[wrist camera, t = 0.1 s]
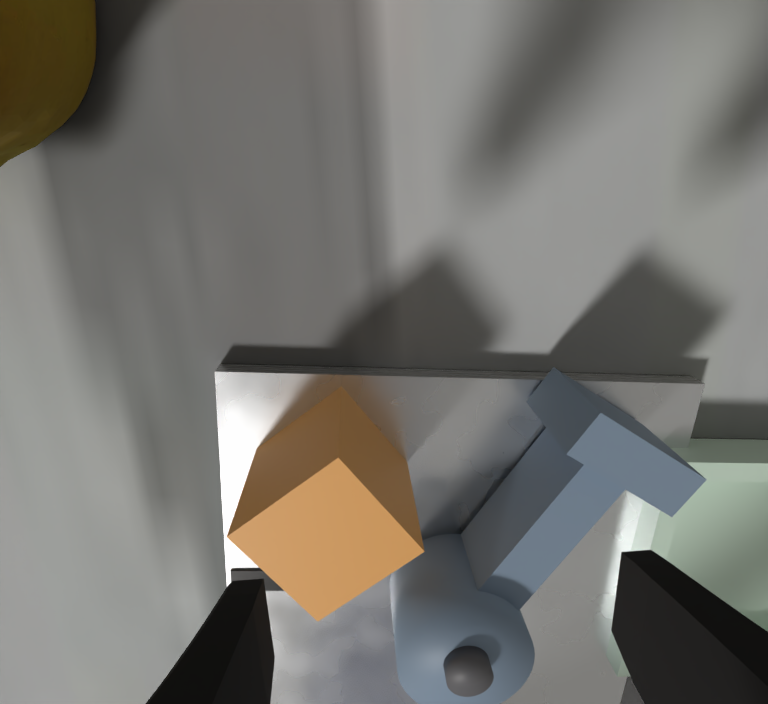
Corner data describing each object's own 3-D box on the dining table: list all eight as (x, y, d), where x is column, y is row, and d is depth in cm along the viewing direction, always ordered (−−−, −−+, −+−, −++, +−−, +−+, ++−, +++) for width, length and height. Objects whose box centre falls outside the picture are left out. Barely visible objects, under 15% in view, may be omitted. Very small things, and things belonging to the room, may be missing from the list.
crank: (460, 642, 23) (484, 747, 19) (367, 599, 22) (370, 700, 18) (646, 426, 20) (724, 493, 16) (549, 364, 19) (605, 418, 15)
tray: (809, 637, 25) (845, 672, 24) (597, 640, 25) (617, 676, 23) (888, 441, 22) (936, 465, 20) (645, 437, 21) (672, 462, 19)
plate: (605, 712, 26) (614, 730, 25) (238, 720, 25) (234, 739, 24) (691, 376, 20) (706, 384, 20) (220, 363, 19) (213, 372, 18)
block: (407, 462, 20) (424, 551, 15) (325, 518, 21) (317, 622, 16) (341, 386, 19) (338, 457, 14) (256, 448, 19) (226, 536, 15)
